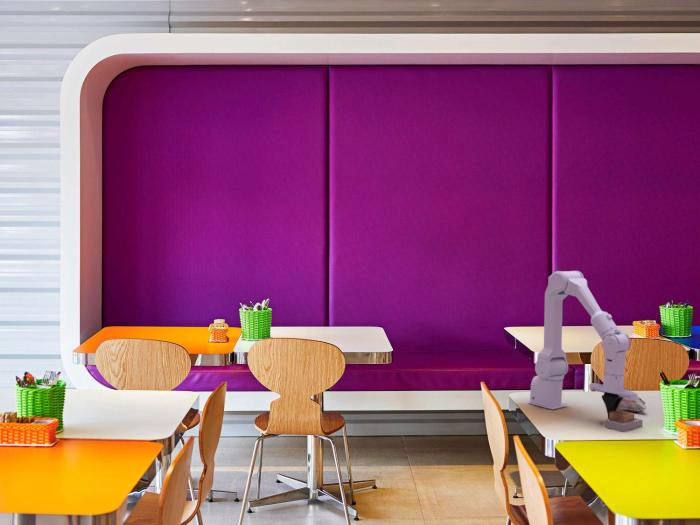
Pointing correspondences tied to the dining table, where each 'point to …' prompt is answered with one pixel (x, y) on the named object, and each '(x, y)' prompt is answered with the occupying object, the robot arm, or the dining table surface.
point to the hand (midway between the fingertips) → (611, 418)
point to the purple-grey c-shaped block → (624, 425)
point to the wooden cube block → (621, 416)
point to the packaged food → (631, 405)
